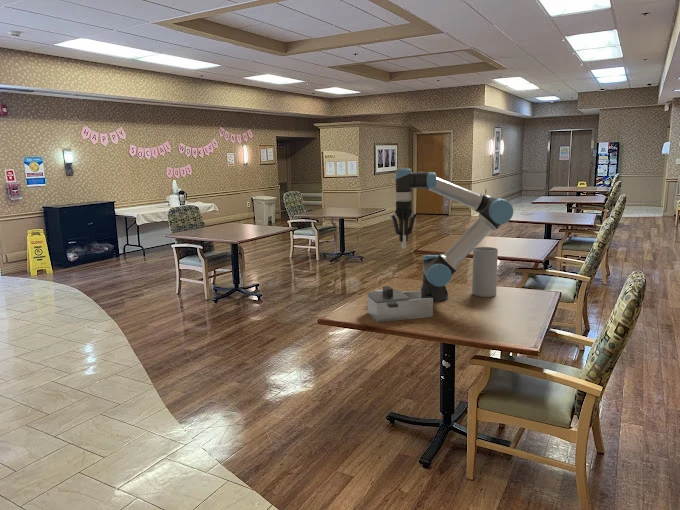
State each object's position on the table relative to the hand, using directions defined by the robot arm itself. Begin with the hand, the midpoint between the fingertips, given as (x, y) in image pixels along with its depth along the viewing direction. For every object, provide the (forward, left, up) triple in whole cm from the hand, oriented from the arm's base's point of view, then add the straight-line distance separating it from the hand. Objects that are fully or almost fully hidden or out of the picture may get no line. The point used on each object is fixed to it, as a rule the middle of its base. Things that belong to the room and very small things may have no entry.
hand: (403, 248), depth 258 cm
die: (+12, -3, -30) cm, 32 cm away
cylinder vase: (-48, -5, -30) cm, 57 cm away
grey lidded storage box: (+8, +15, -29) cm, 34 cm away
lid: (+14, +15, -20) cm, 29 cm away
